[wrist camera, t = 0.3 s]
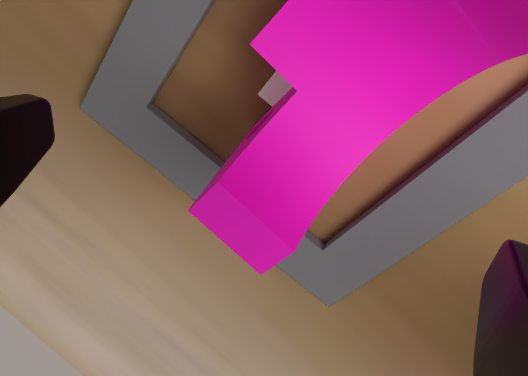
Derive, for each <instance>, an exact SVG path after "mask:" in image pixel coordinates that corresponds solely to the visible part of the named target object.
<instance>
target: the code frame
mask: <svg viewBox="0 0 528 376" xmlns="http://www.w3.org/2000/svg"><path fill="white" fill-rule="evenodd" d="M214 2H215V0H133V1H132V3H131V5H130V7H129V9H128V11H127V13H126V15H125V17H124V19H123V21H122V23H121V25H120V27H119V29H118V31H117V33H116V35H115V37H114V39H113V41H112V43H111V45H110V47H109V49H108V51H107V54H106V56H105V58H104V60H103V62H102V64H101V66H100V68H99V70H98V72H97V74H96V76H95V78H94V80H93V82H92V84H91V86H90V88H89V90H88V92H87V94H86V96H85V98H84V100H83V102H82V104H81V106H80V109H81V110H82V111H83V112H85V113H86V114H87V115H88V116H90V117H91V118H92V119H93V120H95V121H96V122H97V123H98V124H100V125H101V126H102V127H103V128H105V129H106V130H107V131H108V132H110V133H111V134H112V135H113V136H115V137H116V138H117V139H118V140H120V141H121V142H122V143H123V144H125V145H126V146H127V147H129V148H130V149H131V150H132V151H134V152H135V153H136V154H137V155H139V156H140V157H141V158H142V159H144V160H145V161H146V162H147V163H149V164H150V165H151V166H152V167H154V168H155V169H156V170H157V171H159V172H160V173H161V174H162V175H164V176H165V177H166V178H167V179H169V180H170V181H171V182H172V183H174V184H175V185H176V186H177V187H179V188H180V189H181V190H182V191H184V192H185V193H186V194H187V195H189V196H190V197H191V198H192V199H194V200H195V201H196V199H197V198H198V197H199V196H200V194H201V193H202V192H203V190H204V189H205V188H206V187H207V185H208V184H209V183H210V181H211V180H212V179H213V178H214V176H215V175H216V174H217V172H218V171H219V170H220V168H221V167H222V166H223V165H224V163H225V162H224V161H223V160H221V159H220V158H219V157H218V156H217V155H215V154H214V153H213V152H212V151H210V150H209V149H208V148H207V147H206V146H204V145H203V144H202V143H201V142H199V141H198V140H197V139H196V138H195V137H193V136H192V135H191V134H190V133H188V132H187V131H186V130H185V129H184V128H182V127H181V126H180V125H179V124H177V123H176V122H175V121H174V120H173V119H171V118H170V117H169V116H168V115H166V114H165V113H164V112H163V111H161V110H160V109H159V108H158V107H157V106H155V105H154V104H153V103H152V102H153V100H154V99H155V97H156V95H157V94H158V92H159V90H160V89H161V87H162V86H163V84H164V82H165V81H166V79H167V78H168V76H169V74H170V73H171V71H172V70H173V68H174V66H175V65H176V63H177V61H178V60H179V58H180V57H181V55H182V53H183V52H184V50H185V49H186V47H187V45H188V44H189V42H190V40H191V39H192V37H193V36H194V34H195V32H196V31H197V29H198V28H199V26H200V24H201V23H202V21H203V19H204V18H205V16H206V15H207V13H208V11H209V10H210V8H211V7H212V5H213V3H214ZM291 88H292V86H291V85H290V84H289V83H288V82H287V81H286V80H285V79H284V78H283V77H282V76H281V75H280V74H279V73H278V72H277V71H276V72H275V73H274V74H273V75H272V77H271V78H270V79H269V80H268V82H267V83H266V84H265V85H264V87H263V88H262V89H261V90H260V92H259V93H258V95H259V96H260V97H261V98H262V99H264V100H265V101H266V102H267V103H268V104H269V105H271V106H272V107H273V106H274V105H275V104H276V103H277V102H278V101H279V100H280V99H281V98H282V97H283V96H284V95H285V94H286V93H287V92H288V91H289V90H290V89H291ZM527 176H528V84H527V85H526V86H524V87H523V88H522V89H520V90H519V91H518V92H517V93H515V94H514V95H513V96H512V97H510V98H509V99H508V100H507V101H505V102H504V103H503V104H501V105H500V106H499V107H498V108H496V109H495V110H494V111H493V112H491V113H490V114H489V115H488V116H486V117H485V118H484V119H482V120H481V121H480V122H479V123H477V124H476V125H475V126H474V127H472V128H471V129H470V130H469V131H467V132H466V133H465V134H463V135H462V136H461V137H460V138H458V139H457V140H456V141H455V142H453V143H452V144H451V145H449V146H448V147H447V148H446V149H444V150H443V151H442V152H441V153H439V154H438V155H437V156H436V157H434V158H433V159H432V160H430V161H429V162H428V163H427V164H425V165H424V166H423V167H422V168H420V169H419V170H418V171H417V172H415V173H414V174H413V175H411V176H410V177H409V178H408V179H406V180H405V181H404V182H403V183H401V184H400V185H399V186H398V187H396V188H395V189H394V190H392V191H391V192H390V193H389V194H387V195H386V196H385V197H384V198H382V199H381V200H380V201H379V202H377V203H376V204H375V205H373V206H372V207H371V208H370V209H368V210H367V211H366V212H365V213H363V214H362V215H361V216H360V217H358V218H357V219H356V220H354V221H353V222H352V223H351V224H349V225H348V226H347V227H346V228H344V229H343V230H342V231H340V232H339V233H338V234H337V235H335V236H334V237H333V238H332V239H330V240H329V241H328V242H327V243H325V244H324V243H323V242H322V241H321V240H319V239H318V238H317V237H316V236H314V235H313V234H312V233H311V232H310V231H308V230H307V231H306V233H305V234H304V236H303V238H302V239H301V241H300V243H299V245H298V247H297V249H296V251H295V252H294V253H292V254H291V255H289V256H288V257H286V258H285V259H284V260H282V261H281V262H279V263H278V264H276V266H278V267H279V268H280V269H281V270H283V271H284V272H285V273H286V274H288V275H289V276H290V277H291V278H293V279H294V280H295V281H296V282H298V283H299V284H300V285H301V286H303V287H304V288H305V289H306V290H308V291H309V292H310V293H311V294H313V295H314V296H315V297H316V298H318V299H319V300H320V301H321V302H323V303H324V304H325V305H326V306H328V307H330V306H331V305H333V304H334V303H336V302H337V301H339V300H341V299H342V298H344V297H345V296H347V295H348V294H350V293H351V292H353V291H354V290H356V289H357V288H359V287H360V286H362V285H363V284H365V283H366V282H368V281H369V280H371V279H372V278H374V277H375V276H377V275H378V274H380V273H381V272H383V271H384V270H386V269H388V268H389V267H391V266H392V265H394V264H395V263H397V262H398V261H400V260H401V259H403V258H404V257H406V256H407V255H409V254H410V253H412V252H413V251H415V250H416V249H418V248H419V247H421V246H422V245H424V244H425V243H427V242H428V241H430V240H432V239H433V238H435V237H436V236H438V235H439V234H441V233H442V232H444V231H445V230H447V229H448V228H450V227H451V226H453V225H454V224H456V223H457V222H459V221H460V220H462V219H463V218H465V217H466V216H468V215H469V214H471V213H472V212H474V211H475V210H477V209H479V208H480V207H482V206H483V205H485V204H486V203H488V202H489V201H491V200H492V199H494V198H495V197H497V196H498V195H500V194H501V193H503V192H504V191H506V190H507V189H509V188H510V187H512V186H513V185H515V184H516V183H518V182H519V181H521V180H522V179H524V178H526V177H527Z"/></svg>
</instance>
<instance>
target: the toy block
mask: <svg viewBox="0 0 528 376" xmlns="http://www.w3.org/2000/svg"><path fill="white" fill-rule="evenodd" d="M250 45H251V46H252V47H253V48H254V49H255V50H256V51H257V52H258V53H259V54H260V55H261V56H262V57H263V58H264V59H265V60H266V61H267V62H268V63H269V64H270V65H271V66H272V67H273V68H274V69H275V70H276V71H277V72H278V73H279V74H280V75H281V76H282V77H283V78H284V79H285V80H286V81H287V82H288V83H289V84H290V85H291V86H292V88H291V89H290V90H289V91H288V92H287V93H286V94H285V95H284V96H283V97H282V98H281V99H280V100H279V101H278V102H277V103H276V104H275V105H274V106H273V107H272V108H271V109H270V110H269V111H268V112H267V113H266V114H265V115H264V116H263V117H262V118H261V119H260V120H259V121H258V122H257V123H256V124H255V125H254V126H253V127H252V128H251V130H250V131H249V132H248V134H247V135H246V136H245V137H244V139H243V140H242V141H241V143H240V144H239V145H238V146H237V148H236V149H235V150H234V152H233V153H232V154H231V156H230V157H229V158H228V159H227V161H226V162H225V163H224V165H223V166H222V167H221V168H220V170H219V171H218V172H217V174H216V175H215V176H214V178H213V179H212V180H211V181H210V183H209V184H208V185H207V187H206V188H205V189H204V190H203V192H202V193H201V194H200V196H199V197H198V198H197V199H196V201H195V202H194V203H193V205H192V206H191V207H190V209H189V210H188V211H189V212H190V213H191V214H192V215H194V216H195V217H196V218H197V219H198V220H199V221H200V222H201V223H203V224H204V225H205V226H206V227H207V228H208V229H209V230H210V231H212V232H213V233H214V234H215V235H216V236H217V237H218V238H220V239H221V240H222V241H223V242H224V243H225V244H226V245H227V246H229V247H230V248H231V249H232V250H233V251H234V252H235V253H237V254H238V255H239V256H240V257H241V258H242V259H243V260H244V261H246V262H247V263H248V264H249V265H250V266H251V267H252V268H253V269H255V270H256V271H257V272H258V273H259V274H260V275H261V274H263V273H264V272H266V271H267V270H269V269H270V268H272V267H273V266H275V265H276V264H278V263H279V262H281V261H282V260H284V259H285V258H286V257H288V256H289V255H291V254H292V253H294V252H295V251H296V249H297V247H298V245H299V243H300V241H301V239H302V238H303V236H304V234H305V233H306V231H307V229H308V228H309V226H310V225H311V223H312V222H313V220H314V219H315V217H316V216H317V215H318V213H319V212H320V210H321V209H322V208H323V206H324V205H325V204H326V202H327V201H328V200H329V198H330V197H331V196H332V195H333V193H334V192H335V191H336V190H337V189H338V187H339V186H340V185H341V184H342V183H343V182H344V180H345V179H346V178H347V177H348V176H349V175H350V174H351V173H352V172H353V171H354V169H355V168H356V167H357V166H358V165H359V164H360V163H361V162H362V161H363V160H364V159H365V158H366V157H367V156H368V155H369V154H370V153H371V152H372V151H373V150H374V149H375V148H376V147H377V146H378V145H380V144H381V143H382V142H383V141H384V140H385V139H386V138H387V137H388V136H389V135H391V134H392V133H393V132H394V131H395V130H396V129H398V128H399V127H400V126H401V125H402V124H404V123H405V122H406V121H407V120H409V119H410V118H411V117H412V116H414V115H415V114H416V113H417V112H419V111H420V110H421V109H423V108H424V107H425V106H427V105H428V104H430V103H431V102H432V101H434V100H435V99H437V98H438V97H440V96H441V95H443V94H444V93H446V92H447V91H449V90H450V89H452V88H453V87H455V86H457V85H458V84H460V83H462V82H463V81H465V80H467V79H469V78H470V77H472V76H474V75H476V74H478V73H480V72H482V71H484V70H486V69H488V68H490V67H492V66H494V65H497V64H499V63H501V62H504V61H506V60H509V59H512V58H515V57H518V56H521V55H525V54H528V0H288V1H287V2H286V3H285V5H284V6H283V7H282V8H281V9H280V10H279V11H278V13H277V14H276V15H275V16H274V17H273V18H272V19H271V21H270V22H269V23H268V24H267V25H266V26H265V27H264V28H263V30H262V31H261V32H260V33H259V34H258V35H257V36H256V37H255V38H254V40H253V41H252V42H251V43H250Z"/></svg>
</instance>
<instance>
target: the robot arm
mask: <svg viewBox="0 0 528 376" xmlns="http://www.w3.org/2000/svg"><path fill="white" fill-rule="evenodd" d="M54 138H55V133H54V125H53V118H52V111H51V105H50V103H49V102H48V101H47V100H46V99H44V98H41V97H38V96H34V95H31V94H23V95H15V96H7V97H0V207H1V206H2V205H3V204H4V203H5V202H6V201H7V199H8V198H9V197H10V196H11V195H12V194H13V193H14V192H15V190H16V189H17V188H18V187H19V186H20V184H21V183H22V182H23V181H24V179H25V178H26V177H27V176H28V175H29V173H30V172H31V171H32V170H33V168H34V167H35V166H36V165H37V164H38V162H39V161H40V160H41V159H42V157H43V156H44V155H45V154H46V152H47V151H48V150H49V149H50V148H51V146H52V144H53V142H54ZM473 376H528V245H527V244H524V243H521V242H517V241H514V240H507V241H505V242H504V243H503V244H502V246H501V247H500V249H499V251H498V253H497V254H496V256H495V258H494V260H493V261H492V263H491V265H490V267H489V268H488V270H487V272H486V274H485V277H484V280H483V283H482V290H481V299H480V307H479V316H478V324H477V333H476V341H475V350H474V361H473Z"/></svg>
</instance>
